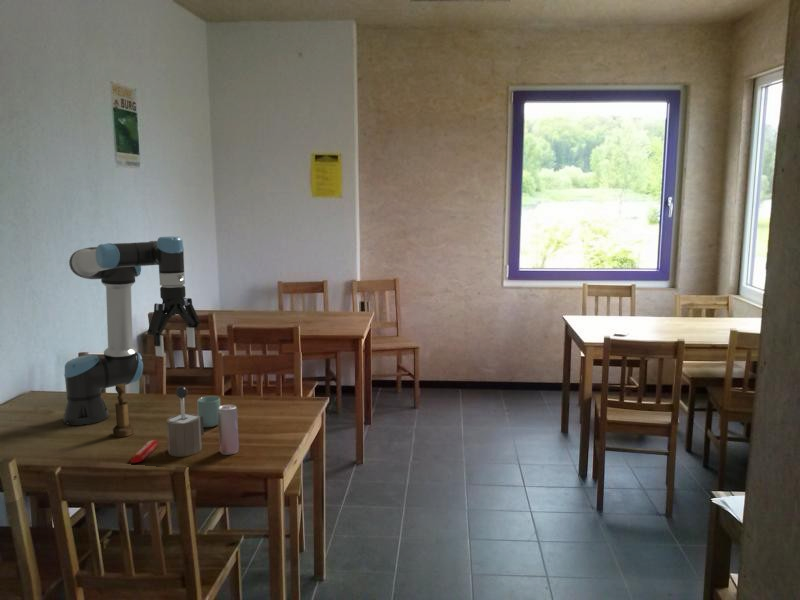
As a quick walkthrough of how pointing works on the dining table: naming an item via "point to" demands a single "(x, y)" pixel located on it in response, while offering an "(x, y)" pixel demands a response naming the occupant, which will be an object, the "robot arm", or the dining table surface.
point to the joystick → (182, 399)
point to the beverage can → (228, 429)
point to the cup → (209, 410)
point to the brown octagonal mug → (184, 434)
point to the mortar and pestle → (122, 415)
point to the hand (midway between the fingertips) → (176, 351)
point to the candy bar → (144, 451)
